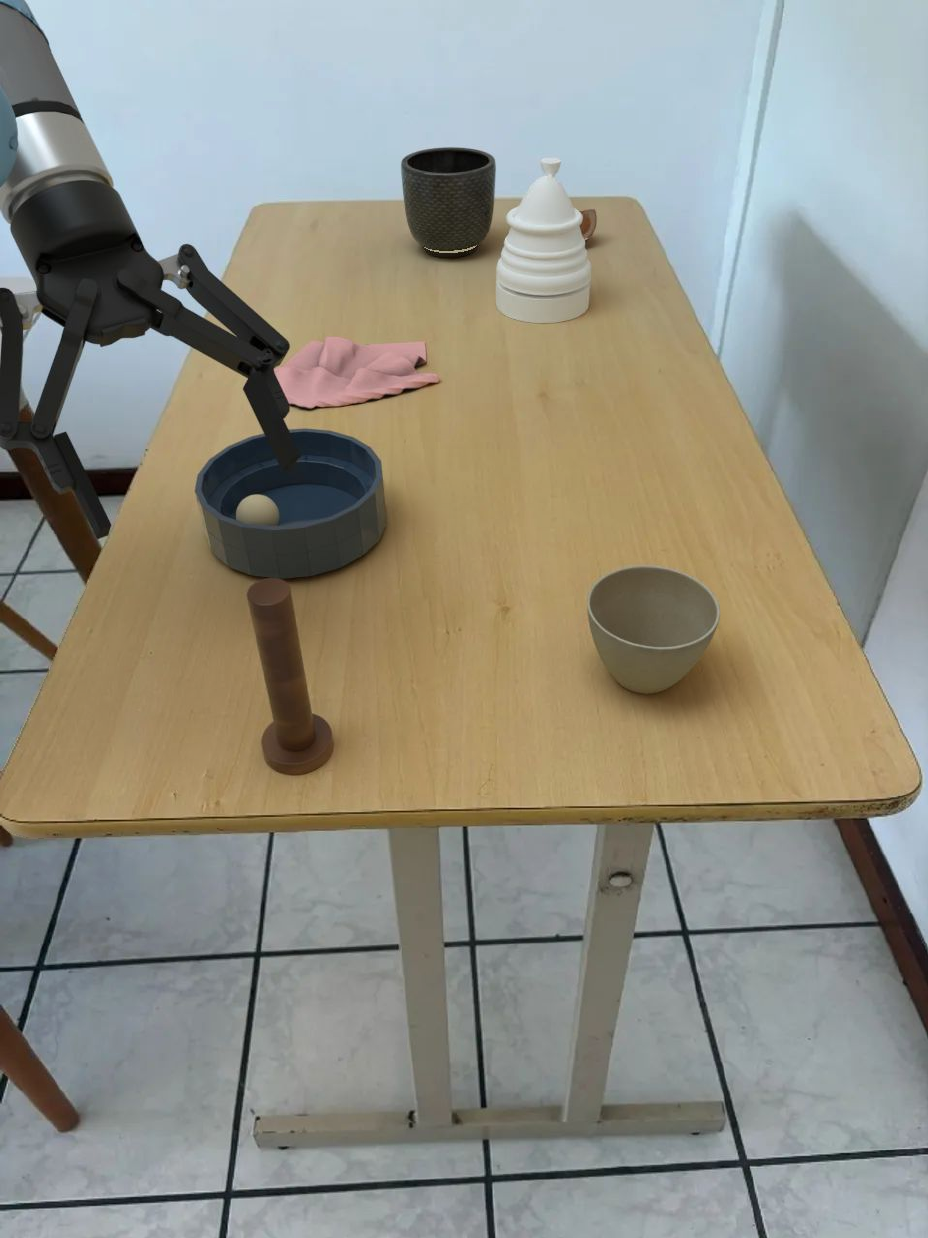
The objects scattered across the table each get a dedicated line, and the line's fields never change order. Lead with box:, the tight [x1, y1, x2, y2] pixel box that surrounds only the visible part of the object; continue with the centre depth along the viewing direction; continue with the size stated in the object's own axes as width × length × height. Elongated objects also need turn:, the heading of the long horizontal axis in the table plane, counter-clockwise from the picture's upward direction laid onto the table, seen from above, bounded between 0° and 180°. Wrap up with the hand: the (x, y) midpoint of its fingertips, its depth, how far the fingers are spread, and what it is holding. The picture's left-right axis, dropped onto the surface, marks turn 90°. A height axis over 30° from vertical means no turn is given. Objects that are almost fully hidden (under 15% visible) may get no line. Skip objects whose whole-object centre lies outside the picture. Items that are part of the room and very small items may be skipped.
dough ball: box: [236, 494, 279, 526], centre depth 90 cm, size 4×4×4 cm
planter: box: [400, 146, 497, 259], centre depth 144 cm, size 14×14×13 cm
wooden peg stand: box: [246, 577, 334, 776], centre depth 67 cm, size 5×5×15 cm
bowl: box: [194, 427, 388, 580], centre depth 91 cm, size 17×17×6 cm
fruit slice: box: [579, 208, 598, 239], centre depth 148 cm, size 8×7×5 cm
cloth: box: [274, 336, 440, 410], centre depth 117 cm, size 20×22×2 cm
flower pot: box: [586, 564, 721, 695], centre depth 75 cm, size 10×10×7 cm
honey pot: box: [495, 157, 592, 324], centre depth 127 cm, size 13×13×18 cm
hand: (202, 497), depth 64 cm, fingers open, 13 cm apart
